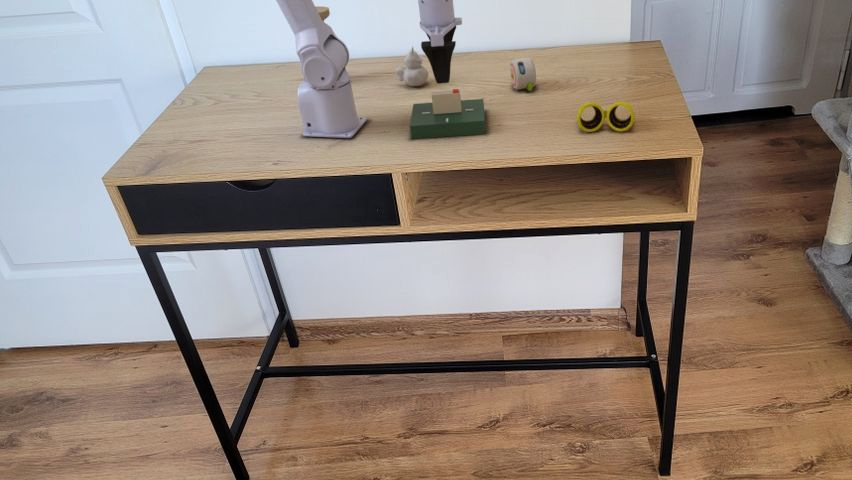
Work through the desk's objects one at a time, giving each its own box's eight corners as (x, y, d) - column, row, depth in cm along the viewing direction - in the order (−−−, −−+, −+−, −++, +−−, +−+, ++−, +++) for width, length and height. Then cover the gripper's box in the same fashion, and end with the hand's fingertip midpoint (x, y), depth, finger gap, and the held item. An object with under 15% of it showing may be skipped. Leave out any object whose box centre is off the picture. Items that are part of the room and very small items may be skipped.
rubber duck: (428, 89, 150) (423, 49, 145) (396, 91, 150) (390, 51, 146) (430, 79, 155) (425, 40, 150) (398, 81, 155) (392, 43, 150)
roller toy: (515, 95, 145) (514, 65, 141) (507, 84, 150) (505, 55, 146) (537, 91, 145) (536, 62, 142) (528, 80, 150) (527, 52, 147)
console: (411, 139, 131) (409, 125, 129) (414, 116, 139) (413, 103, 138) (485, 133, 131) (484, 119, 129) (484, 111, 139) (483, 97, 138)
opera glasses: (632, 125, 132) (633, 97, 130) (634, 132, 127) (635, 103, 125) (577, 126, 133) (577, 98, 131) (577, 133, 128) (576, 104, 126)
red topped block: (433, 114, 133) (431, 93, 131) (433, 110, 134) (431, 90, 132) (461, 112, 133) (459, 91, 131) (461, 108, 134) (459, 88, 132)
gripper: (458, 4, 116) (466, 88, 124) (459, -20, 128) (466, 58, 135) (413, 7, 116) (424, 91, 124) (418, -17, 128) (427, 61, 136)
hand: (443, 74), depth 130 cm, fingers open, 7 cm apart
